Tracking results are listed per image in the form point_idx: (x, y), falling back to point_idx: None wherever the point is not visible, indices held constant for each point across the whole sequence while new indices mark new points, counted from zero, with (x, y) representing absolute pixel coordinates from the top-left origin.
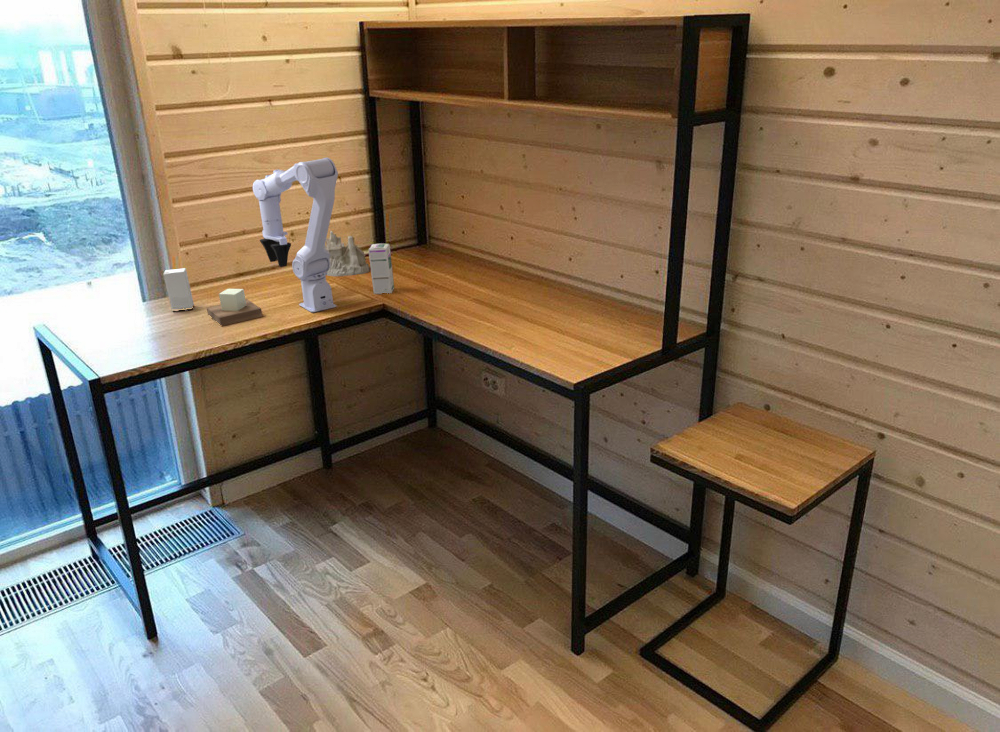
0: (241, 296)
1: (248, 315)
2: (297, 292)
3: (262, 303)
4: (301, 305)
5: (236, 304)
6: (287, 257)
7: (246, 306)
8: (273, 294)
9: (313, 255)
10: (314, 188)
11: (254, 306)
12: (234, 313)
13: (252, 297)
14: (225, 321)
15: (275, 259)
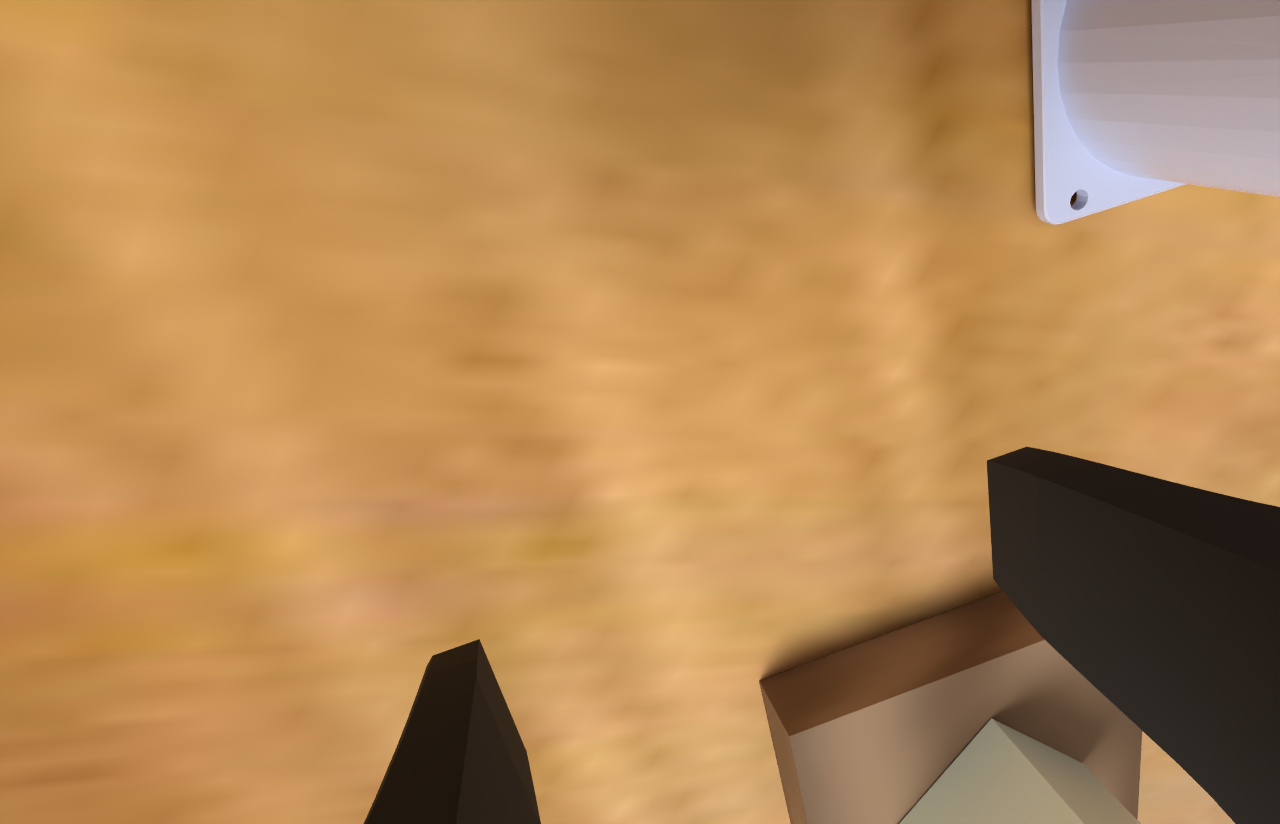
0: (1106, 822)
1: None
2: (510, 167)
3: (740, 568)
4: (1115, 206)
5: (1129, 812)
6: (1240, 501)
7: (1010, 715)
8: (461, 464)
9: None
10: None
11: (1056, 654)
12: (1118, 776)
13: None
14: None
15: (491, 696)
